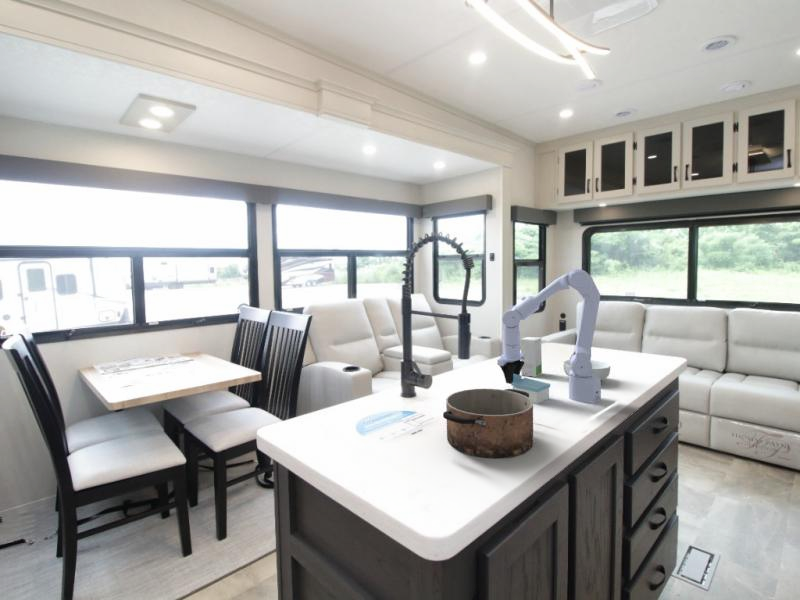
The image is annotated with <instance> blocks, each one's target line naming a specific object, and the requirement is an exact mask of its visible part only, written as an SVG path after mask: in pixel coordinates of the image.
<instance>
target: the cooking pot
mask: <svg viewBox="0 0 800 600" xmlns="http://www.w3.org/2000/svg"><path fill="white" fill-rule="evenodd" d="M445 400H446V401H445V403H446V404H445V405H446V406H445V408H446V411H444V412H443V415H442V417H443V418H444V419H445V420H446V439H447V442H448V443H449V444H450V445H451V446H452V447H453V448H454V449H456V451H459V452H461V453H463V454H465V455H469V456H473V457H479V458H486V459H507V458H512V457H518V456H521V455H523V454H526V453H527V452H528V451H530V449H531V448H532V447H533V445H534V403H533V402H532V400H531V399H529V393H527V392H524V391H519V390H514V389H513V388H507V389H500V388H499V389H497V388H473V389H472V388H471V389H464V390H461V391H456V392H453V393H451V394H449V395H448V396H447V398H446V399H445Z"/></svg>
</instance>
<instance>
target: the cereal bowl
mask: <svg viewBox="0 0 800 600" xmlns="http://www.w3.org/2000/svg"><path fill="white" fill-rule="evenodd" d="M591 364H592V371H591V372H592V376H594V377H597V378H599V379H600V381H604V380H606V379H607V378H608V377H609V375H610V372H611V365H610V364H609V363H606V362H604V361H599V360H594V359H593V360H592V359H591ZM563 370H564V373H565V375H567V376H568V377H569V372H570V371H571V365H570V363H569V359H568V360H565V361H563Z"/></svg>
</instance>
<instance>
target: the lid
mask: <svg viewBox="0 0 800 600" xmlns="http://www.w3.org/2000/svg"><path fill="white" fill-rule="evenodd" d="M522 377H523V376H522V375H517V374H513V382H512V383H511V384H510V385H511V387H513V386H515V387H519V388H523V389H526V390H530V391H534V392H539V391H541V390H544V389H546V388H549V389H550V388H551V383H549V382H548V383H547V382H545V381H544V382H543V381H540V380H535V379H532V378H528V377H524V378H522Z"/></svg>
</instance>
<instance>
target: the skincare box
mask: <svg viewBox="0 0 800 600" xmlns="http://www.w3.org/2000/svg"><path fill="white" fill-rule="evenodd" d="M520 353H524V354H525V359H521V360H520V361H524V365H523V367H522V369H521V372H520V374H521V376H522V375H525V377H530V376H532V377H531V378H536V377H538V376H540V375H541V373H542V374H543V369H542V368H543V367H542V365H543V363H542V361H543V358H542V355H543V354H542V337H537V336H535V337H534V336H526V337H523V338H522V337H521V338H520Z"/></svg>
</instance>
